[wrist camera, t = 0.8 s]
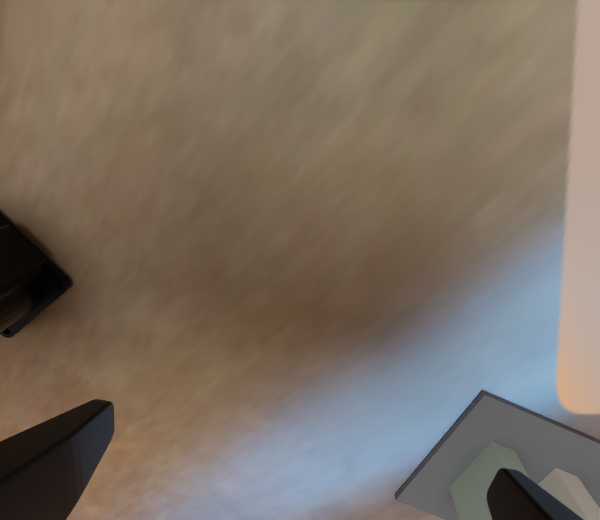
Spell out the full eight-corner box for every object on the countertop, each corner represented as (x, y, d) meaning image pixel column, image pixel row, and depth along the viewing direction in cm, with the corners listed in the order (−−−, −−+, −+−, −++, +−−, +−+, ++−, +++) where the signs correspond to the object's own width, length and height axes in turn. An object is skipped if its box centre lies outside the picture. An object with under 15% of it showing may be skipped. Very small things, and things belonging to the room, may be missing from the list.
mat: (394, 494, 28) (395, 500, 27) (482, 390, 24) (484, 394, 23) (679, 604, 30) (683, 610, 30) (802, 527, 26) (809, 533, 26)
